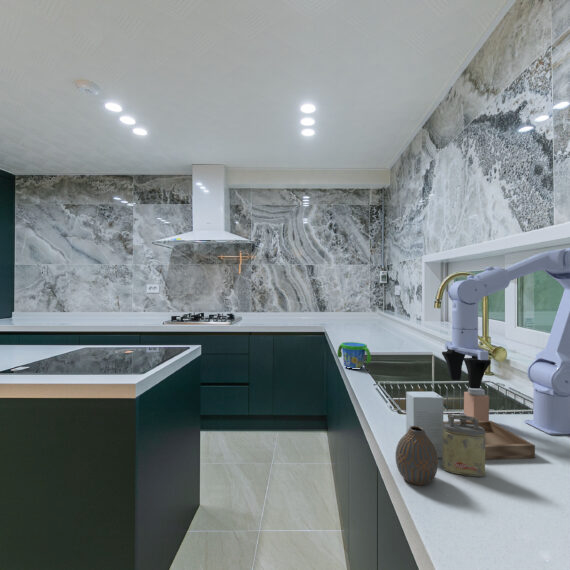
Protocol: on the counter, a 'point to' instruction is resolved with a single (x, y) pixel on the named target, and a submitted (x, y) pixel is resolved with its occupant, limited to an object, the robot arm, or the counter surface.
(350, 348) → the snack cup
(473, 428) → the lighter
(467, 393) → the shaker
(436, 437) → the skincare box
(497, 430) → the tray
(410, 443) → the vase
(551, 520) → the counter surface
